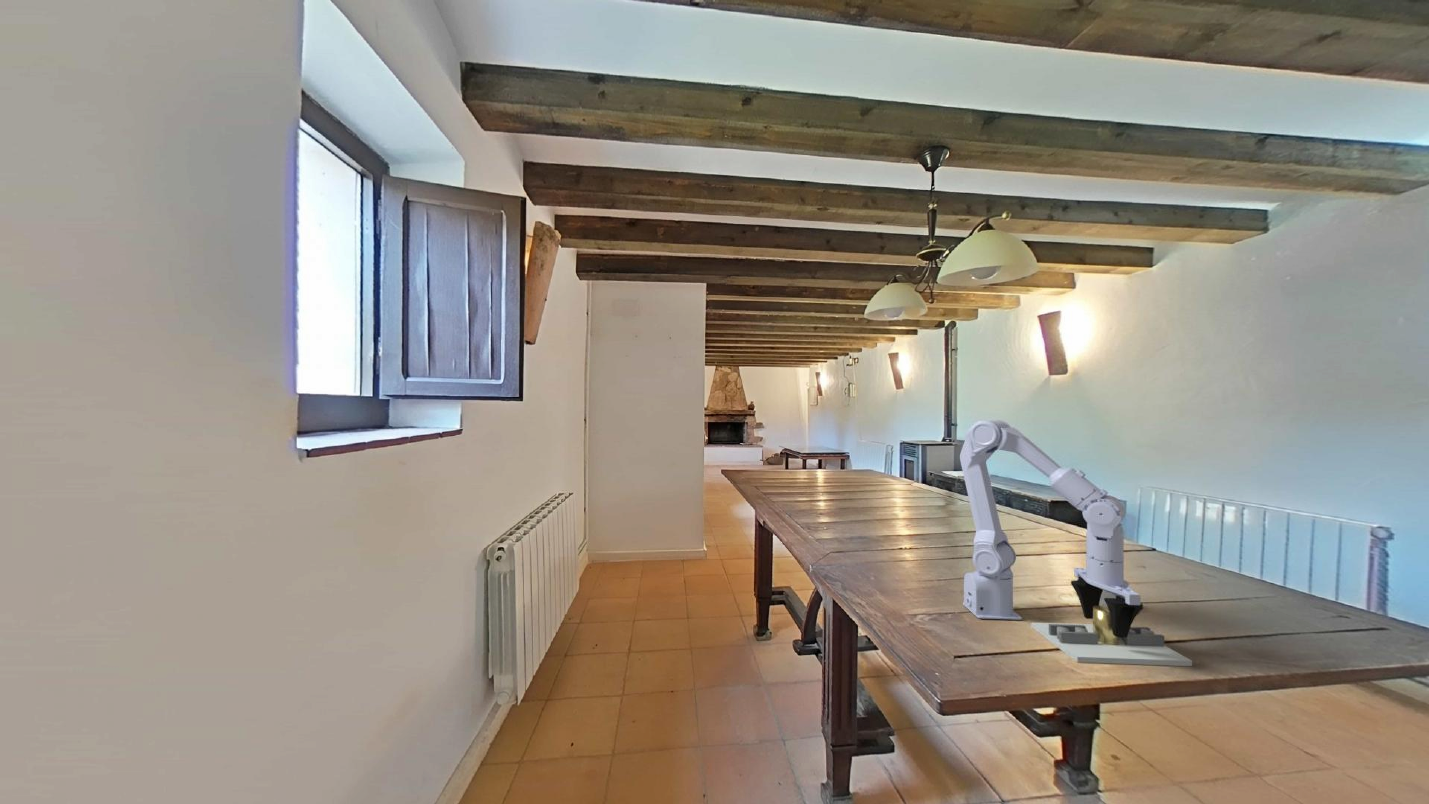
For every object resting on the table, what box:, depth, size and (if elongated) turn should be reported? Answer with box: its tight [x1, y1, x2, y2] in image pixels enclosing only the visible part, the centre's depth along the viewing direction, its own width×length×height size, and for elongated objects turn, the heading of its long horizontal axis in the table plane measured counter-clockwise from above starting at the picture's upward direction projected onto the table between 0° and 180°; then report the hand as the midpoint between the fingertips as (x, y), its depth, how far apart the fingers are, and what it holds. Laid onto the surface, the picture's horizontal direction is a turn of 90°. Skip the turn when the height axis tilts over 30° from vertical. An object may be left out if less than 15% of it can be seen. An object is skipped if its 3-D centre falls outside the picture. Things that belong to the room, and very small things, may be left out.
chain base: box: [1030, 622, 1193, 667], centre depth 94 cm, size 20×14×3 cm
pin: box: [1092, 606, 1119, 645], centre depth 94 cm, size 4×4×6 cm
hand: (1104, 626), depth 94 cm, fingers open, 7 cm apart
